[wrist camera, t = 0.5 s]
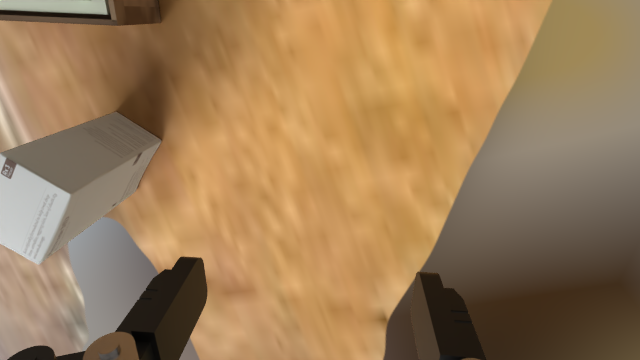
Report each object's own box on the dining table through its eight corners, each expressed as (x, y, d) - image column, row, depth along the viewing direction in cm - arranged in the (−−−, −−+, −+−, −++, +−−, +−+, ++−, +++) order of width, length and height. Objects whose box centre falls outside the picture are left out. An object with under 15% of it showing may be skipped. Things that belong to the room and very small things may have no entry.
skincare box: (136, 191, 44) (42, 272, 30) (88, 164, 43) (-32, 234, 29) (164, 136, 41) (73, 198, 27) (113, 104, 40) (-8, 153, 26)
